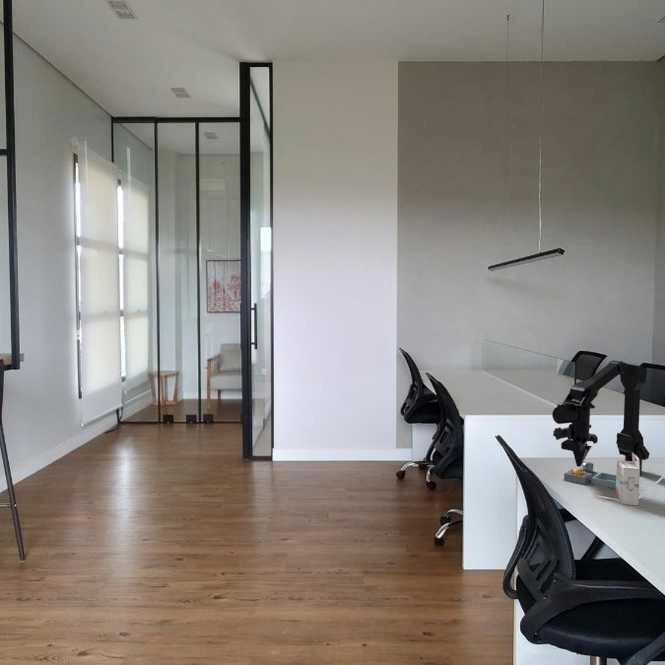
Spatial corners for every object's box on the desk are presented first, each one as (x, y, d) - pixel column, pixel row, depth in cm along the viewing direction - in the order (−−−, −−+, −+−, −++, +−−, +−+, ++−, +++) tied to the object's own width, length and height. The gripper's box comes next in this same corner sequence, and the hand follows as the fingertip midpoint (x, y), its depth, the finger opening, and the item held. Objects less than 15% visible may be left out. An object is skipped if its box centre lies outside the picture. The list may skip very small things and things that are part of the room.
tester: (578, 471, 221) (579, 463, 221) (601, 476, 216) (602, 468, 216) (562, 481, 209) (562, 473, 209) (586, 487, 204) (586, 478, 204)
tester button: (575, 474, 211) (575, 467, 211) (584, 476, 209) (584, 469, 209) (572, 476, 209) (572, 469, 209) (581, 478, 207) (581, 471, 207)
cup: (600, 478, 213) (600, 471, 213) (628, 484, 207) (629, 477, 207) (591, 485, 206) (591, 477, 206) (620, 491, 200) (620, 483, 200)
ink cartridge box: (614, 495, 196) (616, 450, 195) (631, 496, 195) (633, 451, 194) (621, 504, 187) (623, 457, 186) (638, 506, 186) (641, 458, 185)
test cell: (584, 472, 219) (584, 460, 219) (594, 474, 217) (594, 462, 216) (580, 474, 216) (581, 462, 216) (590, 476, 214) (591, 464, 214)
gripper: (567, 414, 220) (565, 456, 221) (546, 422, 206) (544, 467, 207) (599, 418, 213) (597, 462, 214) (580, 427, 199) (578, 474, 200)
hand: (578, 466), depth 209 cm, fingers closed
